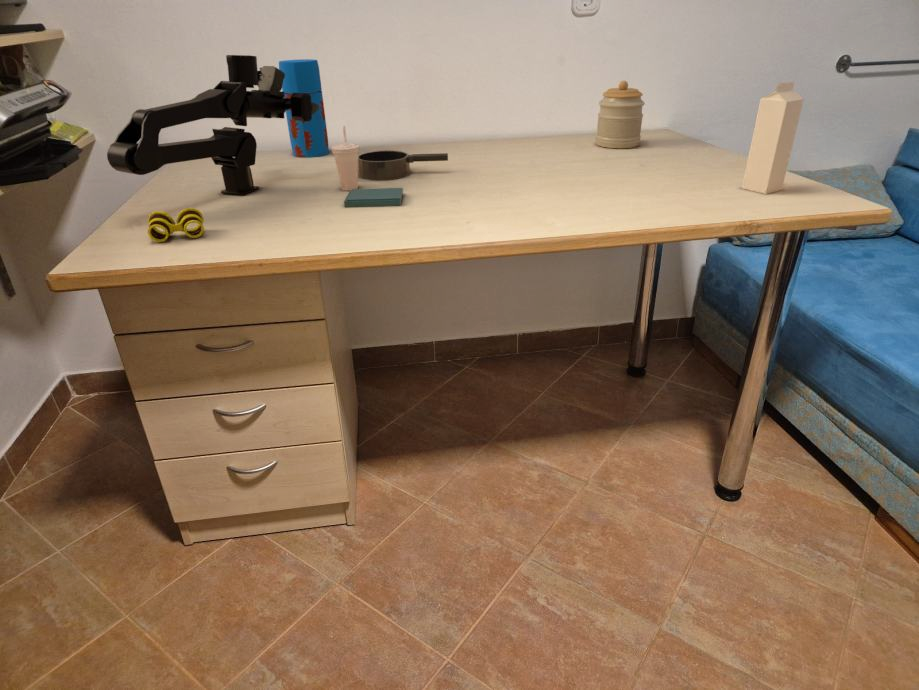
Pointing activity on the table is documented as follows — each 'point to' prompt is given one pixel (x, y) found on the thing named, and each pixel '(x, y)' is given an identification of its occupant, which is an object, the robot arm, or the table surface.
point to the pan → (383, 165)
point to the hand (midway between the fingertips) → (305, 106)
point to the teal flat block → (374, 197)
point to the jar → (620, 117)
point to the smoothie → (347, 163)
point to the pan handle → (428, 157)
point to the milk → (773, 139)
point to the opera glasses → (169, 224)
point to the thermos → (306, 79)
